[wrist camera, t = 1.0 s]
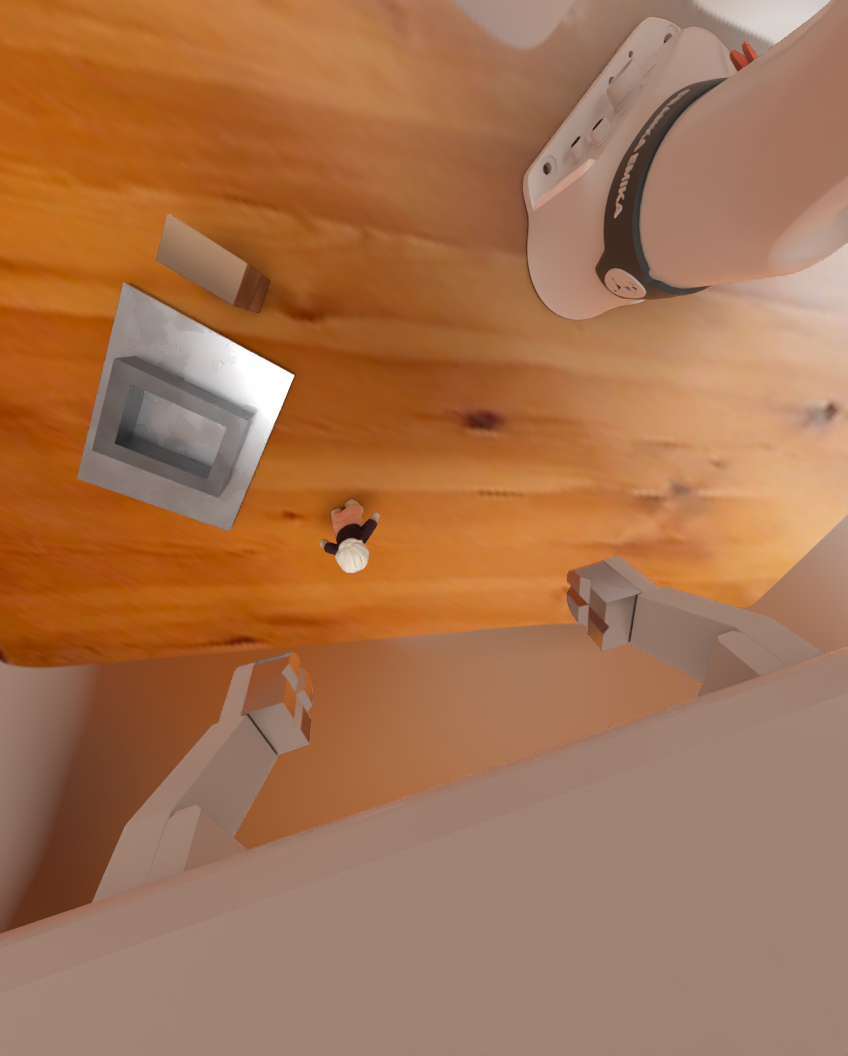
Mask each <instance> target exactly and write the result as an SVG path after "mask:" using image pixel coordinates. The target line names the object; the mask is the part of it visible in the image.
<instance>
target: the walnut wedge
mask: <svg viewBox="0 0 848 1056" xmlns="http://www.w3.org/2000/svg"><path fill="white" fill-rule="evenodd" d="M156 261H158V262H159V263H161V264H163V265H164V266H166V267H168V268H170V269H171V270H173V271H175V272H176V273H178V274H180V275H182V276H183V277H185V278H187V279H188V280H190V281H192V282H194V283H195V284H197V285H199V286H200V287H202V288H204V289H205V290H207V291H209V292H211V293H212V294H214V295H216V296H217V297H219V298H221V299H223V300H224V301H226V302H228V303H229V304H231V305H233V306H236V307H239V308H243V309H246V310H250V311H253V312H257V313H259V312H260V309H261V306H262V303H263V301H264V298H265V295H266V292H267V289H268V287H269V284H270V281H269V280H268V279H266V278H265V277H264V276H263V275H261V274H260V273H259V272H258V271H256V270H255V269H254V268H253V267H251V266H250V265H249V264H248V263H246V262H244V261H243V260H241V259H240V258H238V257H237V256H235V255H233V254H232V253H230V252H229V251H227V250H226V249H224V248H223V247H221V246H219V245H218V244H216V243H215V242H213V241H212V240H210V239H208V238H207V237H205V236H204V235H202V234H201V233H199V232H198V231H196V230H194V229H193V228H191V227H190V226H188V225H187V224H185V223H183V222H182V221H180V220H179V219H177V218H176V217H174V216H173V215H171V214H169V213H168V215H167V218H166V222H165V226H164V230H163V234H162V238H161V242H160V246H159V249H158V253H157V257H156Z"/></svg>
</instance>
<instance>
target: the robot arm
mask: <svg viewBox="0 0 848 1056" xmlns="http://www.w3.org/2000/svg"><path fill="white" fill-rule="evenodd" d="M664 40H665V41H666V43H664ZM742 48H743V51H744V54H745V56H743V55H742V54H740V53H738V52H737V51H735V50H733V51H732V52H731V53H730V51H729V50H728V49H727V47H726V46H725V45H724V43H723V42H722V41H721V40H720V39H719V38H718V37H717V36H715V35H714V34H713V33H712V32H710V31H708V30H706V29H705V28H701V27H697V26H693V27H687V28H684V29H681V28H680V27H678V26H677V25H675V24H674V23H672V22H670V21H668V20H666V19H663V18H658V17H648V18H646V19H645V20H644V21H642V22H641V23H640V24H639V25H638V26H637V27H636V28H635V29H634V30H633V31H632V33H631V34H630V35H629V37H628V38H627V39H626V40H625V42H624V43H623V44H622V46H621V47H620V48H619V50H618V51H617V52H616V54H615V55H614V56H613V58H612V59H611V60H610V62H609V63H608V64H607V65H606V67H605V68H604V69H603V71H602V72H601V73H600V75H599V76H598V77H597V79H596V80H595V81H594V83H593V84H592V85H591V87H590V88H589V89H588V91H587V92H586V93H585V94H584V96H583V97H582V98H581V100H580V101H579V102H578V104H577V105H576V106H575V108H574V109H573V110H572V112H571V113H570V114H569V116H568V117H567V118H566V120H565V121H564V122H563V123H562V125H561V126H560V127H559V129H558V130H557V131H556V133H555V134H554V135H553V137H552V138H551V139H550V141H549V142H548V143H547V145H546V146H545V147H544V149H543V150H542V151H541V152H540V154H539V155H538V156H537V158H536V159H535V160H534V162H533V163H532V164H531V166H530V167H529V168H528V170H527V171H526V173H525V175H524V178H523V194H524V200H525V204H526V208H527V212H528V216H529V230H528V243H527V255H528V265H529V271H530V275H531V279H532V282H533V285H534V287H535V289H536V291H537V293H538V295H539V297H540V298H541V300H542V301H543V302H544V304H545V305H546V306H547V307H548V308H549V309H550V310H552V311H553V312H554V313H556V314H558V315H560V316H562V317H564V318H568V319H573V320H583V319H589V318H593V317H595V316H598V315H600V314H602V313H604V312H606V311H609V310H611V309H613V308H616V307H619V306H622V305H633V304H637V303H641V302H643V301H645V300H650V299H661V298H669V297H675V296H682V295H688V294H692V293H696V292H698V291H701V290H704V289H706V288H707V287H709V286H711V285H718V284H725V283H733V282H740V281H747V280H755V279H762V278H769V277H777V276H784V275H789V274H793V273H796V272H799V271H802V270H804V269H806V268H809V267H811V266H813V265H815V264H817V263H819V262H820V261H822V260H824V259H825V258H827V257H829V256H830V255H832V254H833V253H834V252H836V251H837V250H838V249H840V248H841V247H843V246H844V245H845V244H847V243H848V0H831V1H830V2H829V3H828V4H827V5H826V6H825V7H823V8H822V9H821V10H820V11H819V12H818V13H817V14H815V15H814V16H813V17H811V18H810V19H809V20H808V21H806V22H805V23H804V24H802V25H801V26H800V27H798V28H797V29H796V30H794V31H793V32H792V33H790V34H789V35H788V36H787V37H785V38H784V39H783V40H781V41H780V42H778V43H777V44H776V45H774V46H773V47H772V48H770V49H769V50H768V51H766V52H765V53H763V54H762V55H761V56H759V57H757V55H756V53H755V52H754V50H753V49H752V48H751V47H750V45H749V44H748V43H747V41H745V42H744V43H743V45H742ZM544 165H545V166H546V167H547V169H548V173H547V175H546V174H544V172H543V166H544ZM567 582H568V583H569V584H570V585H571V587H570V588H569V590H568V591H567V604H568V607H569V610H570V612H571V614H572V615H573V617H574V618H575V620H576V621H577V622H578V623H580V624H582V625H585V626H587V627H588V628H587V634H588V635H589V636H590V638H591V639H592V640H593V641H594V642H595V643H596V645H597V646H598V647H599V648H600V650H601V651H603V650H607V649H610V648H614V647H617V646H621V645H624V644H628V643H630V645H632V646H634V647H636V648H638V649H639V650H641V651H643V652H645V653H647V654H649V655H651V656H653V657H655V658H657V659H659V660H661V661H662V662H665V663H666V664H668V665H670V666H672V667H674V668H676V669H678V670H680V671H682V672H683V673H685V674H687V675H689V676H691V677H693V678H695V679H697V680H699V681H701V682H702V685H701V688H700V692H699V694H698V697H697V698H694V699H691V700H688V701H685V702H682V703H679V704H676V705H673V706H670V707H667V708H664V709H661V710H659V711H655V712H652V713H650V714H647V715H644V716H641V717H638V718H635V719H632V720H629V721H626V722H623V723H620V724H617V725H614V726H611V727H608V728H606V729H602V730H599V731H597V732H594V733H591V734H588V735H585V736H582V737H579V738H576V739H573V740H570V741H567V742H564V743H561V744H559V745H556V746H552V747H549V748H547V749H544V750H541V751H538V752H535V753H532V754H529V755H526V756H523V757H520V758H517V759H514V760H511V761H508V762H506V763H502V764H500V765H497V766H494V767H491V768H488V769H485V770H482V771H479V772H476V773H473V774H470V775H467V776H464V777H462V778H459V779H456V780H453V781H450V782H447V783H444V784H441V785H438V786H435V787H432V788H429V789H426V790H424V791H421V792H418V793H415V794H412V795H409V796H406V797H403V798H400V799H397V800H394V801H391V802H388V803H385V804H383V805H380V806H376V807H373V808H370V809H367V810H365V811H362V812H359V813H356V814H353V815H350V816H347V817H344V818H341V819H338V820H335V821H332V822H329V823H326V824H323V825H321V826H317V827H315V828H312V829H309V830H306V831H303V832H300V833H297V834H294V835H291V836H288V837H285V838H282V839H279V840H277V841H273V842H270V843H267V844H264V845H262V846H259V847H256V848H253V849H250V850H246V849H245V848H244V847H243V846H242V845H241V844H240V843H239V842H238V841H237V840H235V839H234V838H233V837H234V836H235V833H236V832H237V830H238V828H239V827H240V825H241V823H242V821H243V819H244V817H245V816H246V814H247V812H248V810H249V808H250V807H251V805H252V803H253V801H254V799H255V798H256V796H257V794H258V792H259V790H260V789H261V786H262V785H263V783H264V781H265V779H266V778H267V776H268V774H269V772H270V770H271V768H272V767H273V765H274V763H275V761H276V760H277V755H279V754H282V753H285V752H288V751H291V750H294V749H297V748H299V747H302V746H305V745H308V744H310V732H311V718H310V717H309V715H308V713H307V712H308V711H309V709H310V708H311V706H312V703H313V702H312V701H313V692H312V684H311V681H310V678H309V676H308V674H307V672H306V671H305V670H303V669H301V668H300V659H299V658H298V656H297V654H296V653H295V652H291V653H287V654H283V655H279V656H276V657H272V658H268V659H264V660H261V661H257V662H255V663H251V664H247V665H244V666H240V667H238V668H237V669H236V670H235V672H234V674H233V677H232V681H231V684H230V687H229V690H228V694H227V697H226V700H225V703H224V707H223V710H222V713H221V717H220V720H219V723H217V724H214V725H212V726H211V727H210V729H209V730H208V731H207V732H206V733H205V734H204V736H203V737H202V738H201V739H200V740H199V741H198V742H197V744H196V745H195V746H194V747H193V748H192V749H191V750H190V752H189V753H188V754H187V755H186V756H185V757H184V759H183V760H182V761H181V762H180V763H179V764H178V765H177V767H176V768H175V769H174V770H173V771H172V772H171V774H170V775H169V776H168V777H167V778H166V779H165V780H164V782H163V783H162V784H161V785H160V786H159V787H158V789H157V790H156V791H155V792H154V793H153V794H152V795H151V797H150V798H149V799H148V800H147V801H146V802H145V804H144V805H143V806H142V807H141V808H140V809H139V810H138V812H137V813H136V814H135V815H134V816H133V817H132V819H131V820H130V821H129V822H128V823H127V824H126V826H125V827H124V830H123V832H122V834H121V837H120V839H119V841H118V844H117V846H116V848H115V851H114V853H113V855H112V857H111V860H110V862H109V864H108V867H107V869H106V871H105V874H104V876H103V878H102V881H101V883H100V885H99V887H98V890H97V892H96V894H95V897H94V899H93V901H92V903H91V904H88V905H85V906H82V907H79V908H76V909H73V910H70V911H67V912H64V913H61V914H58V915H55V916H52V917H49V918H47V919H44V920H40V921H38V922H34V923H32V924H29V925H26V926H23V927H20V928H17V929H14V930H11V931H8V932H5V933H2V934H0V1056H848V646H846V647H844V648H841V649H838V650H835V651H832V652H829V653H826V654H825V653H824V652H822V651H821V650H819V649H818V648H816V647H815V646H813V645H812V644H810V643H809V642H807V641H806V640H804V639H802V638H801V637H799V636H798V635H797V634H795V633H794V632H792V631H791V630H789V629H787V628H786V627H784V626H783V625H781V624H780V623H778V622H777V621H775V620H774V619H772V618H771V617H768V616H764V615H761V614H757V613H754V612H751V611H747V610H743V609H740V608H737V607H733V606H730V605H727V604H723V603H720V602H716V601H713V600H709V599H706V598H703V597H699V596H696V595H692V594H689V593H685V592H682V591H679V590H675V589H672V588H668V587H662V588H659V587H658V586H657V585H656V584H654V583H653V582H652V581H651V580H649V579H648V578H647V577H645V576H644V575H643V574H642V573H640V572H639V571H638V570H637V569H635V568H634V567H633V566H631V565H630V564H629V563H628V562H626V561H625V560H624V559H622V558H621V557H618V556H614V557H611V558H608V559H605V560H602V561H600V562H595V563H592V564H589V565H586V566H582V567H579V568H576V569H572V570H569V572H568V574H567Z"/></svg>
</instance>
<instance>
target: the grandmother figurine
mask: <svg viewBox="0 0 848 1056" xmlns="http://www.w3.org/2000/svg"><path fill="white" fill-rule="evenodd" d="M363 513H364V508H363V507H362V506H361V505H360V504H359V503H358V502H357V501H356V500H354V499H349V500H348V501H346V502H345V509H344V510H343V511H342V509H340V508H336V509H333V510H332V511H331V519H332V523H333V529H334V532H335V536H336V541H337V544H334V543H331V542H329V541H328V540H326V539H322V540H320V543H319V544H320V546H321V547H322V548H323V549H324V550H325V552H327V553H330V554H333V555H336V560H337V562H338V564H339V566H340V567H341V568H342V570H343V571H345V572H350V573H354V572H357V571H359V570H361V569H363V568H364V567H365V566H366V564H367V562H368V557H369V551H368V549H367V547H366V546H365V543H366V541H367V540H368V539H369V537H370V536H371V534H372V532H373V531H374V529H375V528H376V526H377V522H378V520H379V518H380V515H379V513H377V512H373V513H372V514H371V517H370V518H369V519H368V520H367V521H366V522H365V523H364V524H363V521H362V514H363Z"/></svg>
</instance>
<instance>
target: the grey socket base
mask: <svg viewBox="0 0 848 1056" xmlns="http://www.w3.org/2000/svg"><path fill="white" fill-rule="evenodd" d="M294 376H295V374H293V373H292V372H290V371H288V370H286V369H284V368H283V367H281V366H279V365H277V364H275V363H273V362H272V361H270V360H268V359H266V358H264V357H263V356H261V355H259V354H257V353H255V352H253V351H252V350H250V349H248V348H246V347H244V346H242V345H241V344H239V343H237V342H235V341H233V340H232V339H230V338H228V337H226V336H224V335H222V334H221V333H219V332H217V331H215V330H213V329H211V328H210V327H208V326H206V325H204V324H202V323H201V322H199V321H197V320H195V319H193V318H191V317H190V316H188V315H186V314H184V313H182V312H180V311H179V310H177V309H175V308H173V307H171V306H170V305H168V304H166V303H164V302H162V301H160V300H159V299H157V298H155V297H153V296H151V295H150V294H148V293H146V292H144V291H142V290H140V289H139V288H137V287H135V286H133V285H131V284H128V283H124V282H123V286H122V291H121V295H120V299H119V303H118V308H117V312H116V316H115V320H114V325H113V329H112V333H111V337H110V342H109V346H108V350H107V354H106V358H105V363H104V367H103V371H102V375H101V380H100V384H99V388H98V392H97V397H96V401H95V405H94V409H93V414H92V418H91V422H90V426H89V431H88V435H87V439H86V443H85V448H84V452H83V456H82V460H81V465H80V469H79V473H78V477H77V479H80V480H82V481H85V482H88V483H91V484H94V485H97V486H100V487H103V488H106V489H108V490H111V491H114V492H117V493H120V494H123V495H126V496H129V497H132V498H135V499H137V500H140V501H143V502H146V503H149V504H152V505H155V506H158V507H161V508H163V509H166V510H169V511H172V512H175V513H178V514H181V515H184V516H187V517H190V518H192V519H195V520H198V521H201V522H204V523H207V524H210V525H213V526H216V527H218V528H221V529H224V530H227V531H230V530H231V528H232V526H233V523H234V521H235V519H236V516H237V514H238V511H239V509H240V507H241V504H242V502H243V499H244V497H245V495H246V492H247V490H248V487H249V485H250V483H251V480H252V478H253V475H254V473H255V470H256V468H257V466H258V463H259V461H260V458H261V456H262V454H263V451H264V449H265V446H266V444H267V442H268V439H269V437H270V434H271V432H272V429H273V427H274V425H275V422H276V420H277V417H278V415H279V413H280V410H281V408H282V405H283V403H284V401H285V398H286V396H287V393H288V391H289V389H290V386H291V384H292V381H293V379H294Z"/></svg>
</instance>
